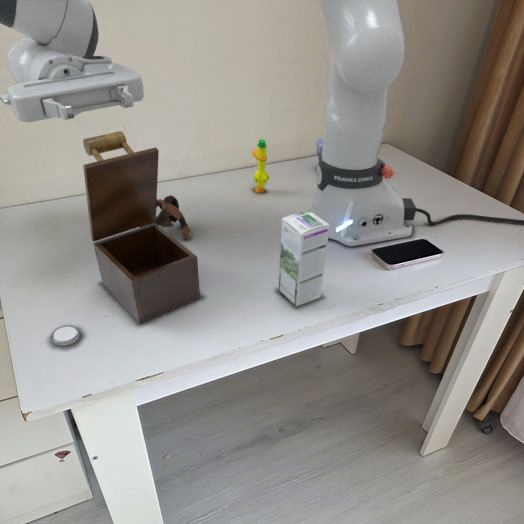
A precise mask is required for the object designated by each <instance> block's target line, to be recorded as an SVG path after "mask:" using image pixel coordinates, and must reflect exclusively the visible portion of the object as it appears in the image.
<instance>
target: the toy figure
mask: <svg viewBox="0 0 524 524" xmlns="http://www.w3.org/2000/svg"><path fill="white" fill-rule="evenodd" d="M266 141H267V140H265V139H259V140H258V143H257V144H256V149H252V150H251V155H252V156H253V158H255V159H256V161H257V170H256V171H255V172H254V177H253V181H254V183H255V184H256V187H254V191H255V192H256V193H258V194H260V193H265V189H264V187H265V186H266V184H267V183H268V180H269V179H270V174H269V173H267V171H266V169H265V168H266V161H267V160H268V157H267V156H268V155H267V144H266Z"/></svg>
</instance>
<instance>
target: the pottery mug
mask: <svg viewBox="0 0 524 524" xmlns="http://www.w3.org/2000/svg"><path fill="white" fill-rule="evenodd" d="M158 207H159V209H160V212H159V214H158V215H156V222H153V223H156V224H157V225H158V226H160V227H161V228H171V227H174V223H176V222H179V226H180V228H181V229H182V231H181V234H182V235H183V236H184V240H186V241H187V240H188V239H189V238H190V235H191V230H190V228H189V225H188V223H187V221H186V219H185V217H184V214H183V213H182V211H181V210H180V205H179V200H178V199H177V197H175V196H174V195H167V196H165V197H164V198H163V199H161V198H157V205H156V209H157V208H158ZM153 223H150V224H153ZM150 224H147V225H150ZM147 225H144V226H147ZM144 226H141V227H144ZM141 227H138V228H141Z"/></svg>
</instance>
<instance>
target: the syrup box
mask: <svg viewBox="0 0 524 524" xmlns="http://www.w3.org/2000/svg"><path fill="white" fill-rule="evenodd" d="M329 227H330V225H329V224H328V223H326V222H325V221H323V220H322V219H321V218H319V217H318V216H316V215H315V214H313V213H312V212H311V210H303V211H299V212H295V213H293V214H290V215H287V216H285V217H282V218H281V231H280V232H281V233H280V234H281V235H280V250H279V252H280V255H279V271H278V273H279V274H278V291H279V292H280V294H282V295H283V296H284V297H285V298H286V299H287V300H288V301H289V302H290V303H292V304H293V305H294V306H295V307H299V306H303V305H305V304H307V303H310V302H312V301H315V300H318V299H319V298H321V297H322V289H323V282H324V275H325V266H326V257H327V251H328V250H327V249H328V244H329V243H328V242H329V238H328V236H329Z"/></svg>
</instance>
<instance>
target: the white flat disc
mask: <svg viewBox="0 0 524 524" xmlns="http://www.w3.org/2000/svg"><path fill="white" fill-rule="evenodd" d="M79 338H80V331H79V329H78V328H77V327H75V326H74V325H73V326H72V325H65V326H64V325H63V326H61V327H58V328H57V329H55V330H54V331H53V332H52V334H51V339H52V342H53V343H54V344H55V345H56V346H57V345H58V346H69V345H72V344H74V343H76V342H77V341H78V340H79Z"/></svg>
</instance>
